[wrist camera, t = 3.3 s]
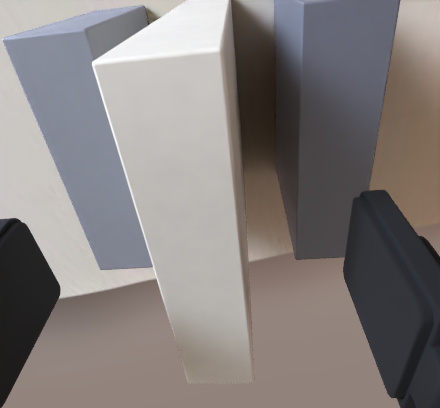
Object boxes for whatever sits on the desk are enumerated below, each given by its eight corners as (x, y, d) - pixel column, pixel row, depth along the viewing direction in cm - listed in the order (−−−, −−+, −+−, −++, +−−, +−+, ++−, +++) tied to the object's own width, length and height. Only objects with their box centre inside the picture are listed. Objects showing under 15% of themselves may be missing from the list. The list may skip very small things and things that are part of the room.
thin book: (230, -6, 18) (224, 46, 6) (244, 173, 24) (254, 383, 12) (186, 0, 18) (88, 61, 6) (210, 176, 25) (187, 385, 12)
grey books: (331, -18, 18) (402, -10, 10) (319, 168, 24) (357, 257, 16) (92, 11, 19) (0, 38, 11) (139, 181, 25) (99, 270, 18)
